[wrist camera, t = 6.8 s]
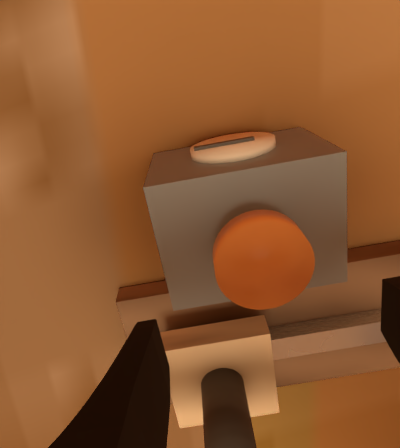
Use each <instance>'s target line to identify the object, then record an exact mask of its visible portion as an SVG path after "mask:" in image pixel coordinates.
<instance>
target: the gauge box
mask: <svg viewBox="0 0 400 448" xmlns="http://www.w3.org/2000/svg"><path fill="white" fill-rule="evenodd" d="M143 189H144V193H145V197H146V201H147V206H148V210H149V214H150V218H151V222H152V226H153V230H154V234H155V238H156V242H157V246H158V250H159V254H160V259H161V263H162V267H163V271H164V275H165V279H166V283H167V287H168V291H169V295H170V299H171V303H172V308H173V311H176V310H182V309H188V308H194V307H200V306H206V305H212V304H218V303H224V302H230V301H231V300H229V299H228V298H227V297H226V296H225V295H224V294H223V293H222V291H221V290H220V288H219V286H218V284H217V281H216V277H215V270H214V264H213V256H212V253H213V245H214V242H215V239H216V237H217V235H218V233H219V232H220V230H221V229H222V228H223V227H224V226H225V225H226V224H227V223H228V222H229V221H230V220H232V219H233V218H235V217H236V216H238V215H240V214H242V213H245V212H248V211H252V210H260V209H264V210H273V211H277V212H280V213H282V214H284V215H286V216H288V217H289V218H290V219H292V220H293V221H294V222H295V223H296V224H297V226H298V227H299V228H300V230H301V231H302V233H303V234H304V235H305V237H306V238H307V240H308V241H309V243H310V244H311V246H312V249H313V252H314V257H315V267H314V272H313V275H312V278H311V280H310V282H309V283H308V285H307V286H306V288H305V289H307V288H313V287H319V286H325V285H331V284H336V283H342V282H347V151H345V150H343V149H341V148H339V147H337V146H336V145H334V144H332V143H330V142H328V141H326V140H324V139H322V138H320V137H318V136H317V135H315V134H313V133H311V132H309V131H307V130H305V129H303V128H301V127H297V128H292V129H286V130H281V131H275V132H270V133H267V132H244V133H235V134H229V135H223V136H219V137H215V138H211V139H207V140H204V141H202V142H199V143H197V144H195V145H193V146H192V147H186V148H181V149H175V150H170V151H164V152H159V153H154V155H153V158H152V161H151V164H150V167H149V170H148V174H147V177H146V180H145V183H144V186H143Z"/></svg>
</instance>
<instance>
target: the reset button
mask: <svg viewBox="0 0 400 448" xmlns="http://www.w3.org/2000/svg"><path fill="white" fill-rule="evenodd" d="M212 256H213V264H214V270H215V277H216V281H217V284H218V286H219V288H220V290H221V291H222V293H223V294H224V295H225V296H226V297H227V298H228V299H229V300H231V301H232V302H234V303H235V304H237V305H239V306H242V307H245V308H249V309H256V310H264V309H271V308H276V307H279V306H282V305H284V304H286V303H288V302H290V301H291V300H293V299H294V298H296V297H297V296H298V295H299V294H300V293H301V292H302V291H303V290H304V289H305V288H306V286H307V285H308V283H309V282H310V280H311V278H312V275H313V272H314V267H315V257H314V252H313V249H312V246H311V244H310V243H309V241H308V240H307V238H306V237H305V235H304V234H303V233H302V231H301V230H300V228H299V227H298V226H297V224H296V223H295V222H294V221H293V220H292V219H290V218H289V217H288V216H286V215H284V214H282V213H280V212H277V211H273V210H264V209H260V210H252V211H248V212H245V213H242V214H240V215H238V216H236V217H235V218H233V219H232V220H230V221H229V222H228V223H227V224H226V225H225V226H224V227H223V228H222V229H221V230H220V232H219V233H218V235H217V237H216V239H215V242H214V245H213V253H212Z"/></svg>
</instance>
